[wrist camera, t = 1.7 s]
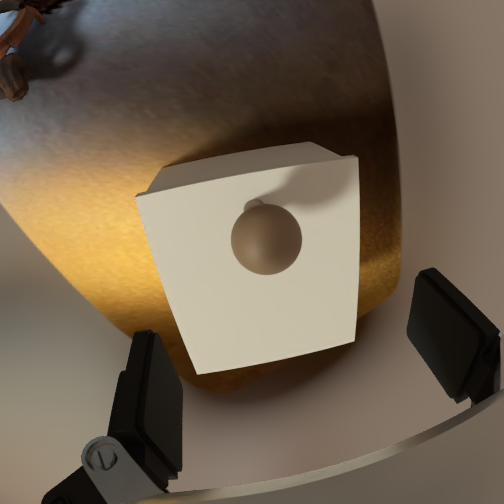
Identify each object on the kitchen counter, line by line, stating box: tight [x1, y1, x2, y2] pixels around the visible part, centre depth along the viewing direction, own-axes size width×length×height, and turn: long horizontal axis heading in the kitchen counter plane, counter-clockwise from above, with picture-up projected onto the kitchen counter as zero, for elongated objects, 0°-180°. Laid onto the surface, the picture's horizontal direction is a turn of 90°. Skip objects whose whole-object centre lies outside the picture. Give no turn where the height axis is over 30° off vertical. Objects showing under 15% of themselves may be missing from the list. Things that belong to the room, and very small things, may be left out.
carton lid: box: [135, 155, 360, 374], centre depth 20 cm, size 16×14×7 cm
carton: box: [147, 142, 341, 191], centre depth 27 cm, size 16×14×9 cm
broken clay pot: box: [0, 0, 45, 102], centre depth 17 cm, size 12×10×8 cm
